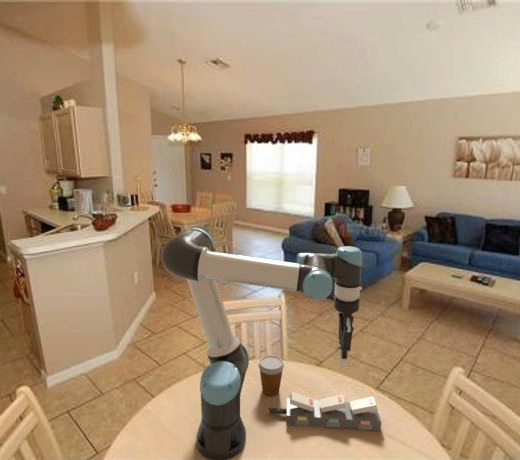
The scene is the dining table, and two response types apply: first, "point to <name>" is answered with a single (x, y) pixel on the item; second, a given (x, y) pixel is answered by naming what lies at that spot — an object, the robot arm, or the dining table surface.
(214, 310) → the robot arm
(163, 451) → the dining table surface
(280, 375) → the disposable coffee cup
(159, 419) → the dining table surface
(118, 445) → the dining table surface
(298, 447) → the dining table surface
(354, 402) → the cream rocker switch
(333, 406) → the cream switch plate
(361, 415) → the power strip
